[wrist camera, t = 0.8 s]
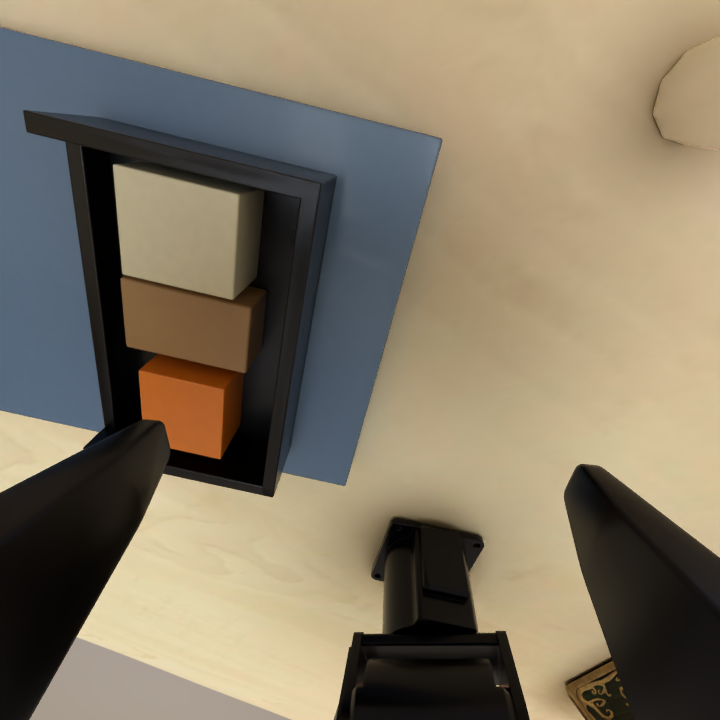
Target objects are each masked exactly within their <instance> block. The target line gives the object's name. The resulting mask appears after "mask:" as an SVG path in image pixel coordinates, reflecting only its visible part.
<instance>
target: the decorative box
mask: <svg viewBox="0 0 720 720" xmlns="http://www.w3.org/2000/svg"><path fill="white" fill-rule="evenodd" d="M566 691H567V694H568V696H569V698H570V699H571V700H572V702H573V703H574V705H575V706H576V707H577V709H578V710H579V712H580V713H581V714H582V716H583V717H584V718H585V720H634V719H633V716H632V713H631V711H630V708H629V705H628V702H627V699H626V696H625V694H624V691H623V688H622V685H621V682H620V679H619V677H618V674H617V671H616V668H615V665H614V662H613V660H612V661H610V662H609V663H607V664H605V665H603V666H601V667H599V668H597V669H595V670H593V671H592V672H590V673H588V674H586V675H584V676H582V677H580V678H578V679H576V680H574V681H573V682H571V683H570V684H568V685H566Z"/></svg>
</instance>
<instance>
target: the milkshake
mask: <svg viewBox="0 0 720 720" xmlns="http://www.w3.org/2000/svg"><path fill="white" fill-rule="evenodd" d="M653 116H654V118H655V120H656V123H657V125H658V127H659V130H660V132H661V135H662V137H663V138H665V139H668V140H671V141H674V142H678V143H681V144H684V145H687V146H692V147H699V148H707V149H715V150H720V36H718V37H716V38H714V39H711V40H709V41H707V42H705V43H703V44H700V45H698V46H696V47H694V48H692V49H690V50H688V51H686V52H685V54H684V55H683V56H682V57H681V58H680V60H679V61H678V62H677V63H676V64H675V65H674V67H673V68H672V69H671V70H670V71H669V72H668V74H667V75H666V76H665V77H664V78H663V79H662V81H661V83H660V87H659V91H658V95H657V99H656V103H655V107H654V111H653Z"/></svg>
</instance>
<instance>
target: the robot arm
mask: <svg viewBox="0 0 720 720" xmlns="http://www.w3.org/2000/svg"><path fill="white" fill-rule="evenodd" d="M169 457H170V444H169V440H168V436H167V432H166V428H165V425H164V423H163V422H162V421H159V420H150V419H143V420H140V421H138V422H136V423H134V424H132V425H130V426H128V427H126V428H125V429H123V430H121V431H119V432H117V433H115V434H113V435H111V436H109V437H107V438H105V439H103V440H101V441H99V442H97V443H96V444H94V445H92V446H90V447H88V448H86V449H84V450H82V451H80V452H78V453H76V454H74V455H72V456H70V457H69V458H67V459H65V460H63V461H61V462H59V463H57V464H55V465H53V466H51V467H49V468H47V469H45V470H43V471H42V472H40V473H38V474H36V475H34V476H32V477H30V478H28V479H26V480H24V481H22V482H20V483H18V484H16V485H14V486H13V487H11V488H9V489H7V490H5V491H3V492H1V493H0V720H29V719H30V717H31V716H32V714H33V712H34V711H35V709H36V707H37V705H38V704H39V702H40V700H41V698H42V696H43V695H44V693H45V691H46V689H47V688H48V686H49V684H50V682H51V680H52V679H53V677H54V675H55V674H56V672H57V670H58V668H59V666H60V665H61V663H62V661H63V659H64V657H65V656H66V654H67V652H68V651H69V649H70V647H71V645H72V644H73V642H74V640H75V638H76V637H77V635H78V633H79V631H80V629H81V628H82V626H83V624H84V622H85V621H86V619H87V617H88V615H89V614H90V612H91V610H92V608H93V607H94V605H95V603H96V601H97V600H98V598H99V596H100V594H101V592H102V591H103V589H104V587H105V585H106V584H107V582H108V580H109V578H110V577H111V575H112V573H113V571H114V570H115V568H116V566H117V564H118V562H119V561H120V559H121V557H122V555H123V554H124V552H125V550H126V548H127V547H128V545H129V543H130V541H131V540H132V538H133V536H134V534H135V532H136V531H137V529H138V527H139V525H140V523H141V521H142V519H143V517H144V515H145V513H146V510H147V508H148V506H149V504H150V501H151V499H152V497H153V494H154V492H155V490H156V488H157V485H158V483H159V481H160V478H161V476H162V474H163V472H164V469H165V467H166V465H167V462H168V460H169ZM564 501H565V506H566V510H567V514H568V518H569V522H570V526H571V530H572V535H573V539H574V543H575V547H576V551H577V555H578V560H579V563H580V567H581V571H582V574H583V577H584V580H585V583H586V586H587V589H588V592H589V594H590V597H591V600H592V603H593V606H594V609H595V611H596V614H597V617H598V620H599V623H600V626H601V628H602V631H603V634H604V637H605V640H606V643H607V645H608V648H609V651H610V654H611V657H612V660H613V662H614V665H615V668H616V671H617V674H618V677H619V679H620V682H621V685H622V688H623V691H624V694H625V696H626V699H627V702H628V705H629V708H630V711H631V713H632V716H633V719H634V720H720V558H719V557H718V556H717V555H715V554H714V553H713V552H712V551H710V550H709V549H708V548H706V547H705V546H704V545H702V544H701V543H700V542H699V541H697V540H696V539H695V538H693V537H692V536H691V535H689V534H688V533H687V532H685V531H684V530H683V529H682V528H680V527H679V526H678V525H676V524H675V523H674V522H672V521H671V520H670V519H669V518H667V517H666V516H665V515H663V514H662V513H661V512H659V511H658V510H657V509H656V508H654V507H653V506H652V505H650V504H649V503H648V502H646V501H645V500H644V499H643V498H641V497H640V496H639V495H637V494H636V493H635V492H633V491H632V490H631V489H630V488H628V487H627V486H626V485H624V484H623V483H622V482H620V481H619V480H618V479H617V478H615V477H614V476H613V475H611V474H610V473H609V472H607V471H606V470H605V469H603V468H602V467H600V466H597V465H588V464H580V465H578V466H577V467H576V468H575V470H574V472H573V474H572V476H571V478H570V480H569V483H568V485H567V487H566V489H565V492H564ZM483 547H484V542H483V539H482V537H480V536H477V535H473V534H468V533H463V532H459V531H454V530H450V529H445V528H441V527H436V526H431V525H427V524H422V523H418V522H413V521H408V520H404V519H399V518H395V519H392V520H391V521H390V523H389V526H388V528H387V531H386V534H385V536H384V539H383V541H382V544H381V547H380V549H379V552H378V554H377V557H376V560H375V562H374V565H373V567H372V572H371V577H372V578H373V579H375V580H379V581H384V599H383V634H364V633H363V632H354V635H353V641H352V646H351V647H350V648H349V652H348V658H347V663H346V668H345V674H344V679H343V684H342V690H341V695H340V700H339V705H338V708H337V711H336V714H335V717H334V720H530V719H529V715H528V711H527V707H526V703H525V700H524V696H523V693H522V689H521V685H520V682H519V678H518V674H517V671H516V667H515V663H514V660H513V656H512V653H511V649H510V645H509V642H508V638H507V634H506V631H496V633H479V632H478V626H477V620H476V614H475V608H474V603H473V597H472V591H471V585H470V579H469V571H470V569H471V568H472V566H473V564H474V563H475V561H476V559H477V558H478V556H479V554H480V552H481V551H482V549H483ZM496 685H499V687H496Z"/></svg>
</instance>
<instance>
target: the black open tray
mask: <svg viewBox="0 0 720 720" xmlns="http://www.w3.org/2000/svg"><path fill="white" fill-rule="evenodd" d="M23 116H24V121H25V127H26V131H27V132H28V133H31V134H35V135H39V136H43V137H47V138H51V139H56V140H60V141H64V142H65V144H66V151H67V159H68V166H69V173H70V180H71V188H72V195H73V202H74V209H75V217H76V224H77V231H78V238H79V246H80V253H81V260H82V267H83V275H84V282H85V289H86V296H87V304H88V311H89V318H90V325H91V333H92V340H93V347H94V354H95V362H96V369H97V376H98V383H99V391H100V398H101V405H102V412H103V420H104V428H103V429H102V430H101V431H100V432H99V433H98V434H97V435H96V436H95V437H94V438H93V439H92V440H91V441H90V442H89V443H88V444H87V445H86V446H85V447H84V448H83V449H86V448H88V447H90V446H92V445H94V444H96V443H97V442H99V441H101V440H103V439H105V438H107V437H109V436H111V435H113V434H115V433H117V432H119V431H121V430H123V429H125V428H126V427H128V426H130V425H132V424H134V423H136V422H138V421H140V420H143V419H150V420H159V421H162V422H163V423H164V425H165V428H166V432H167V436H168V440H169V444H170V457H169V460H168V462H167V465H166V467H165V469H164V472H163V474H167V475H172V476H176V477H181V478H186V479H190V480H195V481H199V482H204V483H209V484H213V485H218V486H222V487H227V488H232V489H236V490H241V491H245V492H250V493H255V494H259V495H264V496H268V497H273V496H274V494H275V491H276V488H277V485H278V482H279V480H280V477H281V474H282V471H283V468H284V465H285V462H286V460H287V457H288V454H289V451H290V448H291V442H292V436H293V430H294V425H295V419H296V413H297V407H298V401H299V395H300V389H301V383H302V378H303V372H304V366H305V360H306V354H307V348H308V342H309V337H310V331H311V325H312V319H313V313H314V307H315V301H316V296H317V290H318V284H319V278H320V272H321V266H322V260H323V254H324V249H325V243H326V237H327V231H328V225H329V219H330V213H331V208H332V202H333V196H334V190H335V185H336V179H337V176H336V175H333V174H329V173H325V172H321V171H317V170H312V169H308V168H304V167H300V166H296V165H292V164H288V163H284V162H280V161H276V160H272V159H268V158H264V157H260V156H256V155H252V154H248V153H244V152H240V151H235V150H231V149H227V148H223V147H219V146H215V145H211V144H207V143H203V142H199V141H195V140H191V139H187V138H183V137H179V136H175V135H171V134H167V133H162V132H158V131H154V130H150V129H146V128H142V127H138V126H134V125H130V124H126V123H122V122H118V121H114V120H110V119H106V118H102V117H92V116H82V115H72V114H62V113H51V112H41V111H31V110H23Z"/></svg>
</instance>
